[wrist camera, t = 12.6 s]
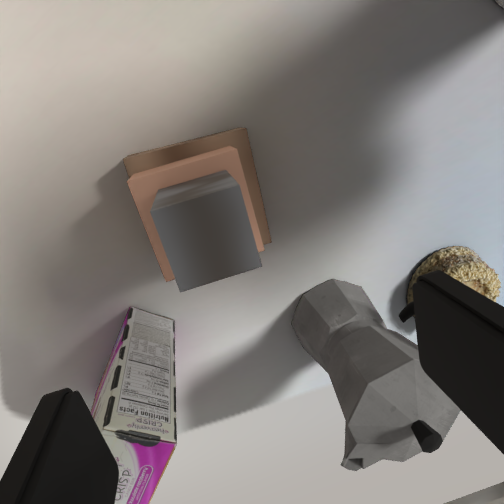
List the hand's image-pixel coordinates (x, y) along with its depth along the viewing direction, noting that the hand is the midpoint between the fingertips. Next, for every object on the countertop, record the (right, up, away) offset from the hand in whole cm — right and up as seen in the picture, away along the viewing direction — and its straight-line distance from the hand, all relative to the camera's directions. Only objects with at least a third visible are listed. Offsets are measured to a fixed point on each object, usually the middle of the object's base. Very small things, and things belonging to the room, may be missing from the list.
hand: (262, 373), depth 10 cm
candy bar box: (-12, -7, +29) cm, 32 cm away
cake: (+22, 0, +34) cm, 40 cm away
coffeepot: (+9, -3, +32) cm, 33 cm away
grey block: (-4, +6, +17) cm, 19 cm away
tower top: (-5, +7, +21) cm, 23 cm away
